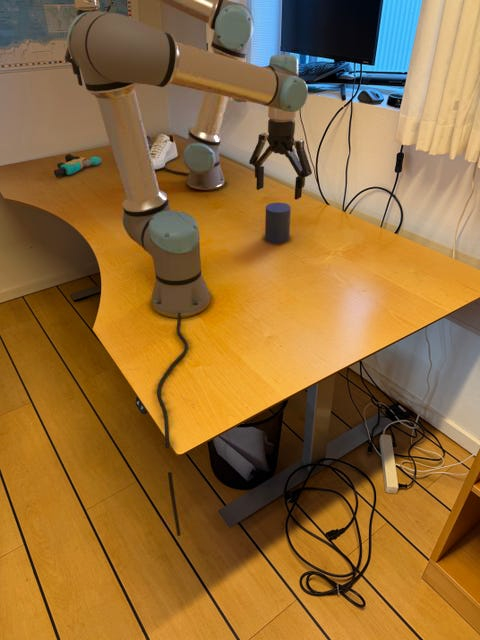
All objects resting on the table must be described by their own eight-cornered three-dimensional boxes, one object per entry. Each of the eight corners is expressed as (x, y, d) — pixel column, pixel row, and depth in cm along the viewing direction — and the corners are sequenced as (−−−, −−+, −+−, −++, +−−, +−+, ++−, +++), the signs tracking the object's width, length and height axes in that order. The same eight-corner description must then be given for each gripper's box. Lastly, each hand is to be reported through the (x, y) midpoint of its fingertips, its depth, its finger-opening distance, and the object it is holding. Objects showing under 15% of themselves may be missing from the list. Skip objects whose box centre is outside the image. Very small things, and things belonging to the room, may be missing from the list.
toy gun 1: (34, 165, 203) (60, 171, 198) (76, 150, 222) (101, 154, 216) (36, 176, 206) (62, 181, 200) (78, 159, 225) (103, 164, 219)
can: (292, 236, 156) (294, 205, 150) (282, 246, 151) (284, 214, 145) (271, 231, 160) (272, 200, 153) (260, 241, 154) (261, 209, 148)
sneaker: (133, 173, 208) (129, 144, 201) (161, 153, 230) (158, 127, 223) (155, 175, 205) (151, 146, 198) (180, 155, 227) (178, 129, 220)
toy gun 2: (175, 143, 244) (165, 152, 232) (140, 141, 247) (129, 150, 235) (174, 135, 242) (164, 144, 230) (139, 134, 245) (128, 142, 233)
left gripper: (328, 122, 128) (321, 198, 140) (252, 110, 140) (252, 181, 152) (314, 128, 123) (308, 206, 135) (237, 115, 135) (238, 188, 147)
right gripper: (49, 11, 143) (65, 88, 155) (130, 8, 152) (139, 81, 164) (45, 10, 148) (61, 84, 161) (123, 7, 157) (132, 78, 170)
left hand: (278, 193), depth 144 cm, fingers open, 13 cm apart
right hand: (100, 83), depth 162 cm, fingers open, 13 cm apart
